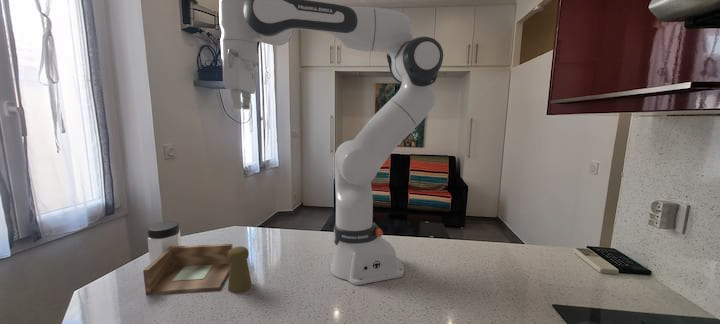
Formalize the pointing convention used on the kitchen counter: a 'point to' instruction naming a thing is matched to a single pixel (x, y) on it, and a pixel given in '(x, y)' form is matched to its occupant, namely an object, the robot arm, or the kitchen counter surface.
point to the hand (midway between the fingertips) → (242, 109)
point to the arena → (188, 269)
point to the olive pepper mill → (238, 270)
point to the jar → (162, 238)
